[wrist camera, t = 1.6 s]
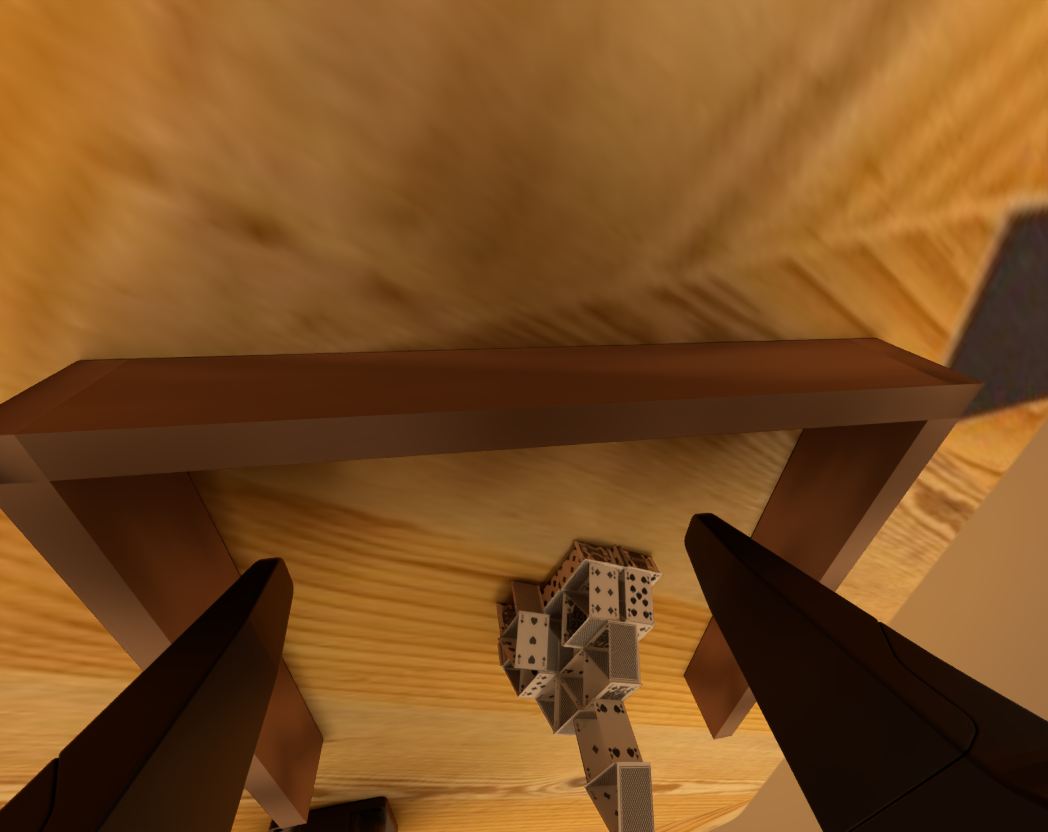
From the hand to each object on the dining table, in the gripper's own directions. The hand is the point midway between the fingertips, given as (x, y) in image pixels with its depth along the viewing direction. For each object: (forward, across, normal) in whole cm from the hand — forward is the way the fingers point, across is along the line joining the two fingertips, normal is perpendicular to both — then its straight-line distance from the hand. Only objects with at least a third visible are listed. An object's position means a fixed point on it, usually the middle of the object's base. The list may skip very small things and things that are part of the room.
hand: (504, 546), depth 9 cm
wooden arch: (+4, -1, +7) cm, 8 cm away
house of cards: (+4, -2, +7) cm, 8 cm away
